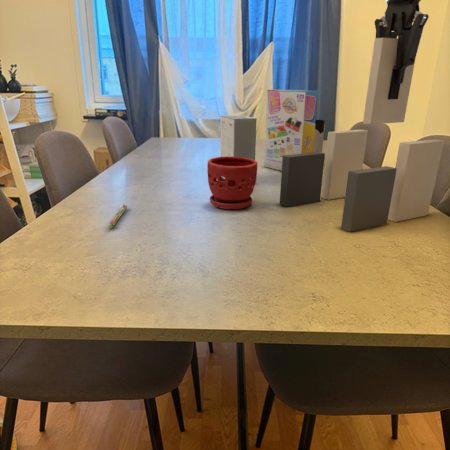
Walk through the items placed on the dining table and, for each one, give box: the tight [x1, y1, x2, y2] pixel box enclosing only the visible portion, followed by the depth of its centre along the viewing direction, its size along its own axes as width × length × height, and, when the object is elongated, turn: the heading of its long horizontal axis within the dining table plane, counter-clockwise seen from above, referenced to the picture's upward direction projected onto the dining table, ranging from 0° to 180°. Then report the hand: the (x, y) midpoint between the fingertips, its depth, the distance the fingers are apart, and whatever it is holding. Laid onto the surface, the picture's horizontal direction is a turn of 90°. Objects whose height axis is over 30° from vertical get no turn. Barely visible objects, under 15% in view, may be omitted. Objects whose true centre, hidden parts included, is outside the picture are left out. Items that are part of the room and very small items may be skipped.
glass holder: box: [313, 119, 326, 153], centre depth 185 cm, size 9×14×15 cm, turn 145°
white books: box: [320, 129, 445, 223], centre depth 114 cm, size 27×12×18 cm, turn 30°
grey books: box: [279, 152, 397, 233], centre depth 108 cm, size 27×12×13 cm, turn 30°
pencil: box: [108, 204, 128, 229], centre depth 106 cm, size 1×1×18 cm
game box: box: [264, 89, 319, 172], centre depth 155 cm, size 21×6×27 cm, turn 34°
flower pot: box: [206, 156, 258, 210], centre depth 115 cm, size 13×13×12 cm
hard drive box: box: [220, 114, 258, 179], centre depth 142 cm, size 16×8×20 cm, turn 17°
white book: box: [362, 37, 416, 125], centre depth 104 cm, size 2×12×18 cm, turn 120°
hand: (387, 98), depth 106 cm, fingers closed on white book, 2 cm apart
